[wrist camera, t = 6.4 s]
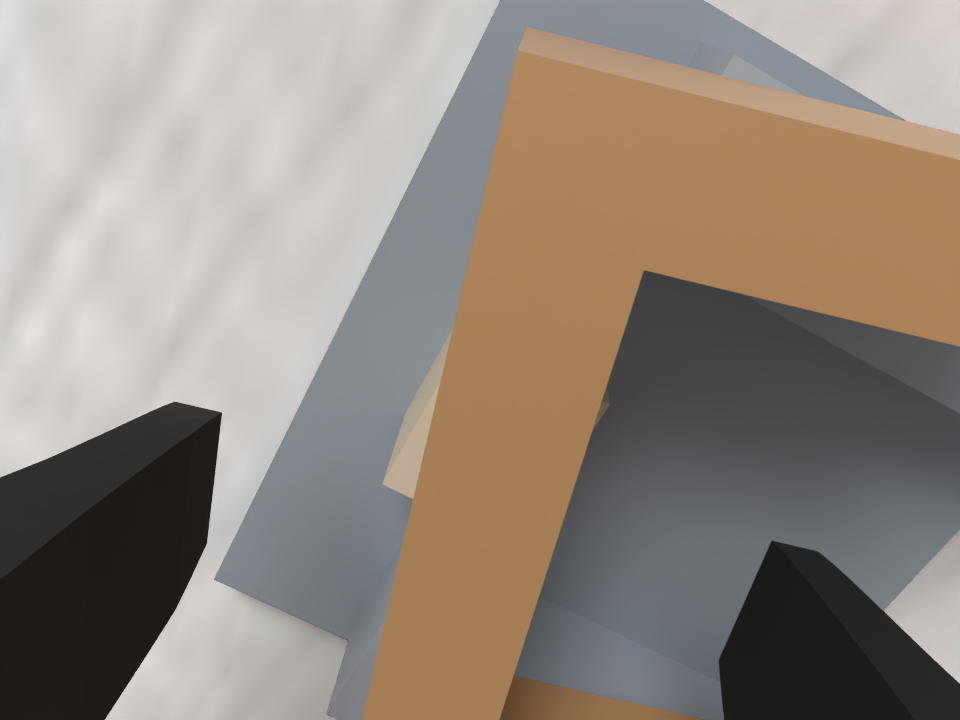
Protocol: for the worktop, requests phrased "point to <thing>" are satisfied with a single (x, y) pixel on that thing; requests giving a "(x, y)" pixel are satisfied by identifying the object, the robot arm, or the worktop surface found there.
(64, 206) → the worktop surface
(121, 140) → the worktop surface
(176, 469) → the robot arm
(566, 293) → the tan c-shaped bracket
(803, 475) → the display stand
